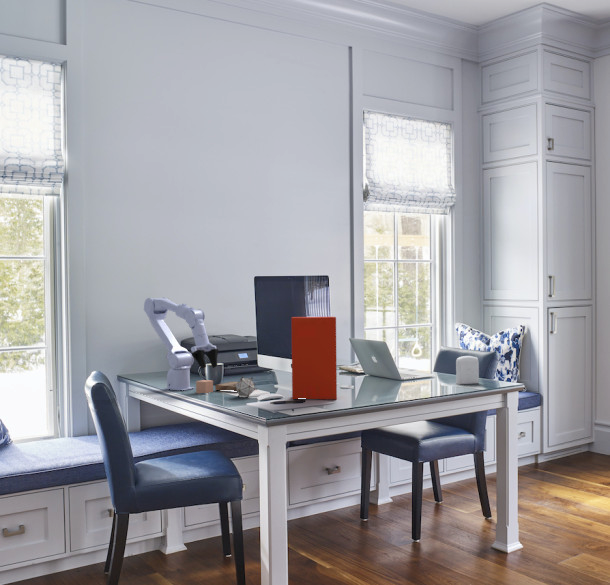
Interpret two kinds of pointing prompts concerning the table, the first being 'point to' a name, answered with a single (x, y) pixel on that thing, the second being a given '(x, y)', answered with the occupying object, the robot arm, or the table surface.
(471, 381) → the grey smart speaker
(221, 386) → the plinth
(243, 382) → the game die
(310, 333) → the file binder
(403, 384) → the table surface
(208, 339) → the robot arm
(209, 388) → the cube
